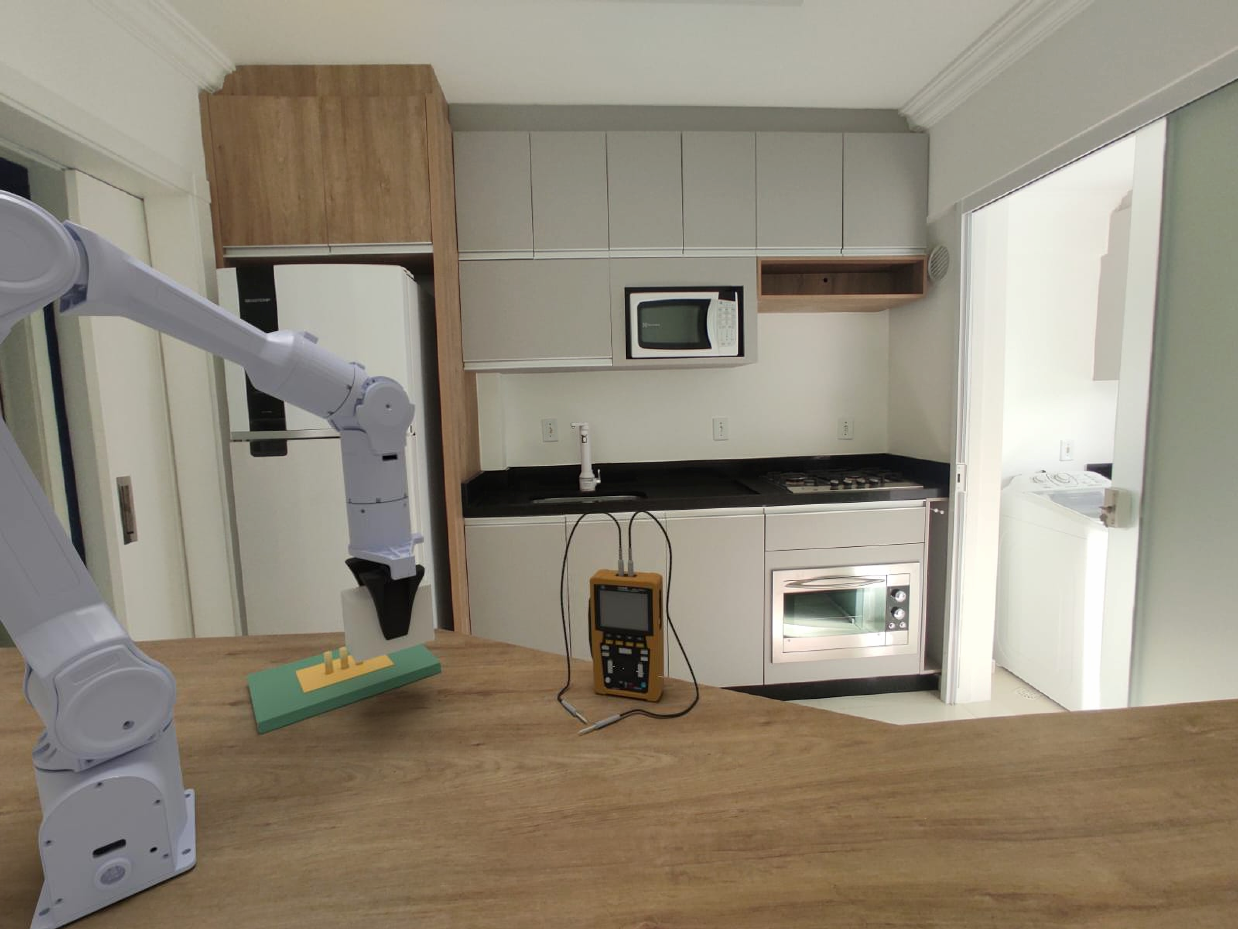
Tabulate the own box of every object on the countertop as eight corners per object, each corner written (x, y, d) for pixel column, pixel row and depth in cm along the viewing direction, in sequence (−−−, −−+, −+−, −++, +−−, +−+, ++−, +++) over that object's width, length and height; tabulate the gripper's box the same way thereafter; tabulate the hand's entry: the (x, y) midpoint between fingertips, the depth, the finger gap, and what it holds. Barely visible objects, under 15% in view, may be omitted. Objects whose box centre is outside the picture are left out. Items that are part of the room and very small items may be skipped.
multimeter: (532, 729, 52) (521, 527, 50) (571, 677, 62) (564, 505, 59) (682, 755, 48) (679, 535, 45) (700, 694, 57) (698, 510, 55)
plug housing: (435, 639, 56) (430, 584, 56) (356, 663, 52) (350, 603, 51) (421, 626, 60) (416, 574, 59) (346, 647, 55) (340, 591, 55)
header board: (441, 671, 64) (438, 642, 63) (259, 734, 53) (254, 699, 52) (408, 638, 73) (406, 611, 73) (248, 685, 62) (244, 654, 62)
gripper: (443, 502, 51) (453, 640, 52) (398, 485, 62) (407, 599, 64) (362, 514, 46) (376, 664, 48) (329, 493, 58) (341, 615, 60)
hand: (389, 628), depth 56 cm, fingers closed on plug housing, 4 cm apart
